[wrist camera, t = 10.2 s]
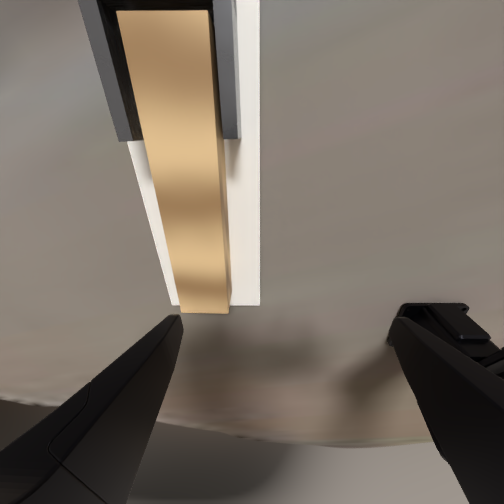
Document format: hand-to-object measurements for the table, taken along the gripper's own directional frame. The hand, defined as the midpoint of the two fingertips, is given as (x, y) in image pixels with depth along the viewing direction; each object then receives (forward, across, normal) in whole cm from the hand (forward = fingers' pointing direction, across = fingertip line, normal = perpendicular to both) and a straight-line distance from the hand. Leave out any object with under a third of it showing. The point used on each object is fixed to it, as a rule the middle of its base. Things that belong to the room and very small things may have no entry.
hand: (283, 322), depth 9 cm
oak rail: (+10, +6, -3) cm, 11 cm away
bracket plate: (+11, +6, -3) cm, 12 cm away
